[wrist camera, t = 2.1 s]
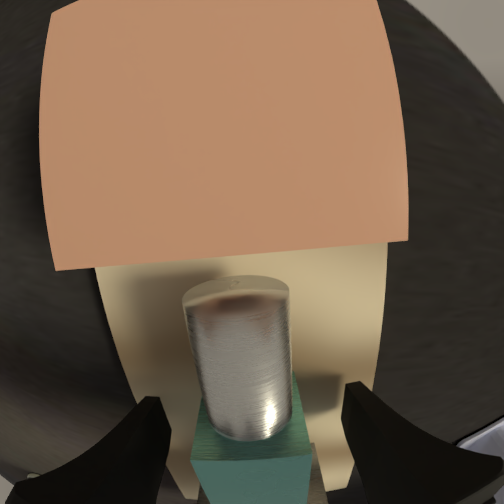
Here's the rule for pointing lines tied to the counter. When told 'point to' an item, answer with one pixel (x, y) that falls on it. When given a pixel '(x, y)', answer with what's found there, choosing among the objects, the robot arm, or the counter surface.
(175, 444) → the board
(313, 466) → the gray notched block
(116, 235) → the socket
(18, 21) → the counter surface
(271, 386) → the tube
